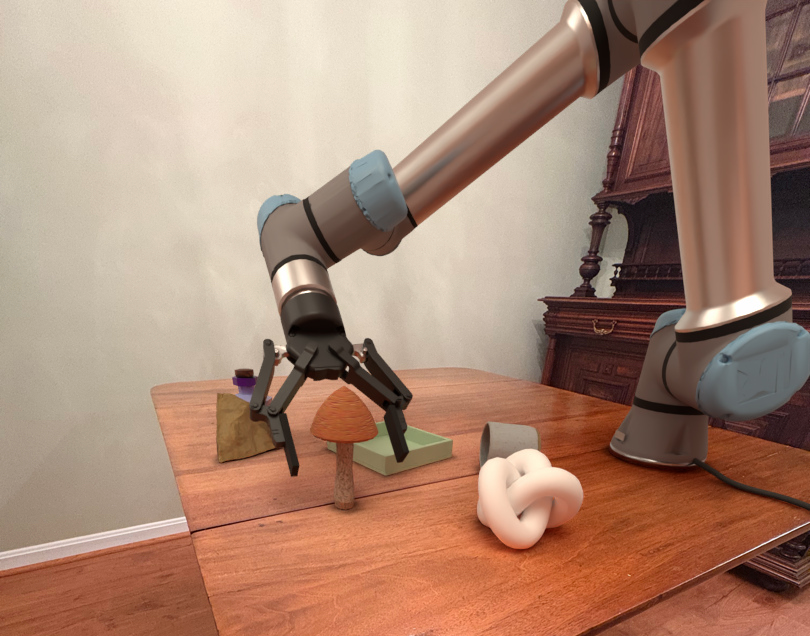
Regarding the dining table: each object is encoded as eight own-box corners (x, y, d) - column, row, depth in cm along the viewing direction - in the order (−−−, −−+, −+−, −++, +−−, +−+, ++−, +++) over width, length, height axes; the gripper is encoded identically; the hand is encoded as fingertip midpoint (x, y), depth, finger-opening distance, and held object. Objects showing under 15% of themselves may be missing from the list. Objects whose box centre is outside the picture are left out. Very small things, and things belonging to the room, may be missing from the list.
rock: (280, 428, 78) (221, 422, 75) (281, 395, 70) (216, 387, 68) (279, 478, 74) (217, 474, 71) (279, 449, 66) (210, 444, 63)
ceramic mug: (538, 479, 65) (547, 429, 61) (484, 479, 64) (491, 428, 61) (520, 458, 74) (527, 413, 70) (473, 457, 74) (478, 412, 70)
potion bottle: (231, 443, 77) (218, 373, 71) (228, 431, 84) (216, 366, 78) (280, 439, 80) (271, 371, 74) (273, 427, 87) (265, 364, 81)
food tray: (451, 457, 73) (453, 439, 71) (385, 476, 65) (385, 456, 63) (391, 435, 84) (391, 419, 82) (327, 449, 75) (326, 431, 74)
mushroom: (385, 517, 52) (385, 391, 45) (320, 524, 50) (309, 393, 43) (371, 492, 59) (369, 378, 52) (313, 497, 57) (303, 380, 50)
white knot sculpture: (448, 513, 54) (454, 444, 49) (531, 504, 57) (544, 438, 52) (487, 560, 44) (498, 479, 40) (585, 546, 47) (605, 470, 43)
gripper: (390, 333, 62) (432, 465, 58) (207, 335, 53) (242, 492, 48) (406, 291, 55) (456, 437, 51) (200, 284, 46) (239, 462, 42)
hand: (351, 464), depth 50 cm, fingers open, 12 cm apart
